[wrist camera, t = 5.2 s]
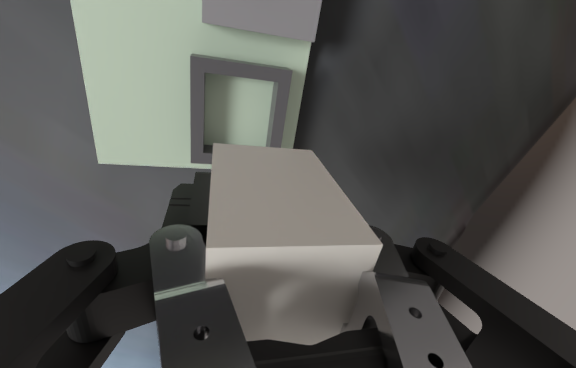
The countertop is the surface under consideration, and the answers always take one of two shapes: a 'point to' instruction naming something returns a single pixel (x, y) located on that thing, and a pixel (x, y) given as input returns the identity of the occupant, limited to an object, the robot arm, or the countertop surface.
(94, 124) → the circuit board
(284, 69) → the header socket
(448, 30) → the countertop surface
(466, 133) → the countertop surface
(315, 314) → the plug
